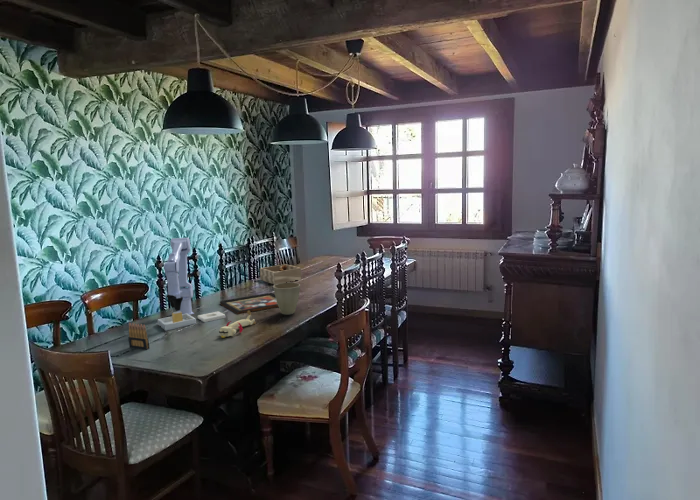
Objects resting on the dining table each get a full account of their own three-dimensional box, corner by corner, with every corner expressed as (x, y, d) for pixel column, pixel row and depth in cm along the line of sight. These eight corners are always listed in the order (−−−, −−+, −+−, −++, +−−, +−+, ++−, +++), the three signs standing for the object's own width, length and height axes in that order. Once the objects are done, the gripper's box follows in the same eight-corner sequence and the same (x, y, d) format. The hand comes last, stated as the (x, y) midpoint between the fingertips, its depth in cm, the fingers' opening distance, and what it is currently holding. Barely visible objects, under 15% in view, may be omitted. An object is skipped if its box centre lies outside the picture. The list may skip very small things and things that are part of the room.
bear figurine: (271, 279, 362) (270, 264, 360) (291, 278, 364) (290, 262, 362) (271, 283, 349) (269, 267, 347) (291, 282, 351) (290, 266, 349)
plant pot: (276, 317, 262) (275, 289, 259) (273, 310, 276) (271, 283, 273) (303, 314, 266) (302, 286, 263) (298, 308, 280) (297, 281, 278)
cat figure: (243, 325, 255) (213, 336, 232) (242, 309, 254) (212, 319, 231) (259, 327, 251) (230, 338, 228) (258, 310, 251) (229, 320, 228)
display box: (260, 279, 362) (259, 268, 361) (286, 275, 375) (285, 264, 374) (274, 284, 344) (274, 272, 343) (301, 279, 357) (300, 268, 355)
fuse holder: (197, 318, 265) (197, 315, 265) (218, 314, 273) (218, 311, 272) (204, 322, 258) (204, 319, 257) (225, 318, 265) (225, 314, 264)
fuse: (172, 323, 257) (171, 312, 256) (181, 321, 259) (180, 311, 259) (174, 324, 254) (173, 313, 254) (182, 322, 257) (181, 312, 256)
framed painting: (241, 317, 267) (240, 312, 267) (214, 306, 294) (214, 301, 294) (298, 304, 291) (297, 299, 291) (268, 295, 318) (268, 291, 318)
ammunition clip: (129, 347, 224) (126, 322, 222) (132, 346, 225) (129, 321, 223) (146, 349, 219) (143, 324, 217) (149, 348, 221) (146, 323, 219)
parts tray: (158, 324, 258) (157, 319, 257) (187, 318, 267) (187, 313, 267) (165, 330, 247) (165, 325, 246) (196, 324, 256) (195, 318, 256)
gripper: (185, 285, 250) (187, 310, 252) (176, 280, 262) (179, 304, 264) (171, 287, 246) (173, 312, 248) (163, 282, 257) (165, 307, 260)
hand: (175, 309), depth 256 cm, fingers open, 7 cm apart
